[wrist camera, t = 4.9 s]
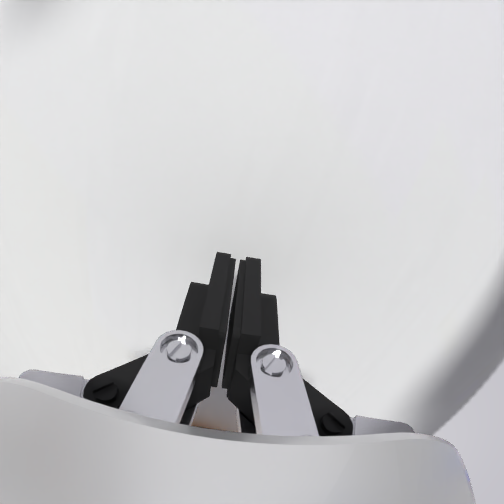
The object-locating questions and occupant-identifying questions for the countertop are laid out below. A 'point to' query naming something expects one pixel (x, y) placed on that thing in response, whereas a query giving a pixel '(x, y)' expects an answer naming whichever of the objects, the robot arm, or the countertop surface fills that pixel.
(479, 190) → the countertop surface
